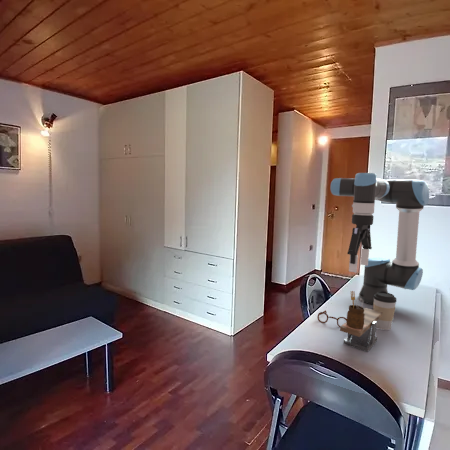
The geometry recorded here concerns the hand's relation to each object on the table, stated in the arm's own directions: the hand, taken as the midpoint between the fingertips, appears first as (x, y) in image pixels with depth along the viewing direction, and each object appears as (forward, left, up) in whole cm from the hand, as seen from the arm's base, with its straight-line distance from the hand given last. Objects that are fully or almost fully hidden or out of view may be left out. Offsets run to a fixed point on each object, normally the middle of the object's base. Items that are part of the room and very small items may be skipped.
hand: (358, 268), depth 127 cm
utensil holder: (+11, +4, -19) cm, 22 cm away
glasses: (-12, -12, -29) cm, 34 cm away
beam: (+1, +4, -21) cm, 21 cm away
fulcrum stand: (+1, +4, -29) cm, 29 cm away
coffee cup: (-21, +6, -29) cm, 36 cm away
